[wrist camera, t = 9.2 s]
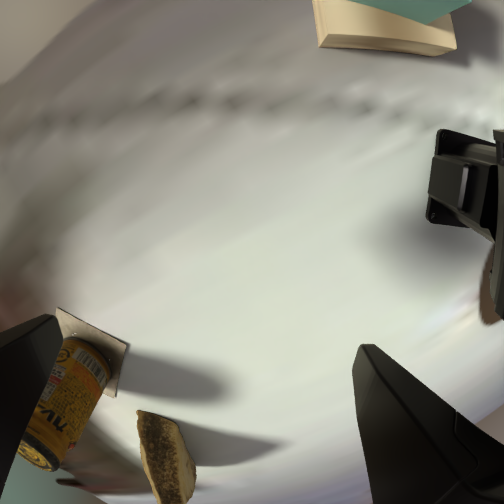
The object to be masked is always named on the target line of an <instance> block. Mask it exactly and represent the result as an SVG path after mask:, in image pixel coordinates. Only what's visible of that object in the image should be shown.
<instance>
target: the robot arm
mask: <svg viewBox="0 0 504 504" xmlns="http://www.w3.org/2000/svg"><path fill="white" fill-rule="evenodd" d="M443 133H444V134H445V136H446V137H445V139H443V138H442V135H443ZM493 136H494V140H495V141H496V144H494V143H491V142H488V141H485V140H482V139H478V138H475V137H472V136H468V135H465V134H462V133H458V132H454V131H451V130H447V129H440V130H438V132H437V135H436V146H435V155H434V157H433V158H432V166H431V174H430V181H429V188H428V194H429V198H428V204H427V210H426V219H427V220H428V221H429V222H430V223H433V224H442V225H450V226H458V227H465V228H471V229H473V230H474V231H476V232H477V233H479V234H480V235H482V236H483V237H485V238H486V239H488V240H489V241H491V242H492V243H494V244H495V246H494V258H493V265H492V270H491V271H490V277H489V280H490V282H491V286H490V293H491V296H492V299H493V302H494V303H495V309H494V310H495V312H496V313H497V314H498V315H499V316H500V317H501V318H502V320H503V321H504V130H493ZM433 213H435V215H434V217H433V218H431V215H432V214H433ZM62 345H63V335H62V331H61V328H60V325H59V321H58V319H57V317H56V316H54V315H49V314H43V315H41V316H38V317H36V318H34V319H31V320H29V321H26V322H24V323H22V324H19V325H17V326H15V327H12V328H10V329H8V330H5V331H3V332H0V498H1V495H2V492H3V489H4V486H5V482H6V480H7V477H8V474H9V471H10V468H11V466H12V463H13V461H14V458H15V455H16V453H17V450H18V448H19V445H20V443H21V440H22V438H23V436H24V433H25V431H26V429H27V426H28V424H29V422H30V419H31V417H32V415H33V413H34V411H35V408H36V406H37V404H38V402H39V400H40V398H41V396H42V393H43V391H44V389H45V387H46V385H47V383H48V381H49V378H50V376H51V373H52V370H53V368H54V365H55V363H56V360H57V358H58V355H59V353H60V350H61V348H62ZM352 376H353V386H354V395H355V405H356V415H357V422H358V427H359V432H360V437H361V441H362V446H363V451H364V456H365V461H366V466H367V472H368V477H369V483H370V488H371V494H372V500H373V504H504V445H503V444H501V443H500V442H498V441H497V440H495V439H494V438H492V437H491V436H489V435H488V434H486V433H485V432H484V431H482V430H481V429H479V428H478V427H477V426H475V425H474V424H473V423H472V422H470V421H469V420H468V419H466V418H465V417H464V416H463V415H461V414H460V413H459V412H456V410H455V409H454V408H453V407H451V406H450V405H449V404H448V403H447V402H445V401H444V400H443V399H442V398H440V397H439V396H438V395H437V394H435V393H434V392H433V391H432V390H431V389H429V388H428V387H427V386H426V385H424V384H423V383H422V382H421V381H419V380H418V379H417V378H416V377H414V376H413V375H412V374H411V373H410V372H408V371H407V370H406V369H405V368H403V367H402V366H401V365H400V364H398V363H397V362H396V361H395V360H393V359H392V358H391V357H390V356H388V355H387V354H386V353H385V352H383V351H382V350H381V349H380V348H379V347H377V346H376V345H374V344H361V345H360V346H359V348H358V351H357V354H356V357H355V361H354V364H353V368H352Z"/></svg>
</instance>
